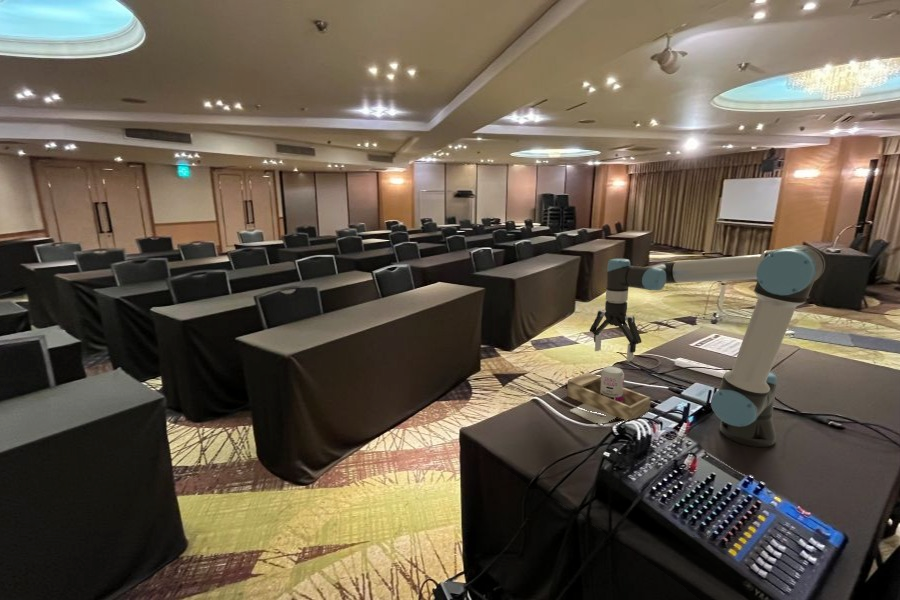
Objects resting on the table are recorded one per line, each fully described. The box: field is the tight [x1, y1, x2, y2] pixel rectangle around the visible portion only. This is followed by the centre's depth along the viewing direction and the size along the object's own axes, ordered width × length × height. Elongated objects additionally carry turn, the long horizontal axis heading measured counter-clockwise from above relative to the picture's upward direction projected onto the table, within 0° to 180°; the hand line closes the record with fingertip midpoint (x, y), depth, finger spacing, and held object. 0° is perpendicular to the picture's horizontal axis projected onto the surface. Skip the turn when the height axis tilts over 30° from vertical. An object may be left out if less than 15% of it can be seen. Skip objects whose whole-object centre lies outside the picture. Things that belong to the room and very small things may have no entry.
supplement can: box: [600, 365, 625, 404], centre depth 159 cm, size 8×8×15 cm
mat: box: [569, 403, 617, 425], centre depth 154 cm, size 14×9×1 cm, turn 35°
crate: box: [566, 371, 651, 420], centre depth 161 cm, size 28×13×7 cm, turn 35°
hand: (613, 355), depth 156 cm, fingers open, 13 cm apart
